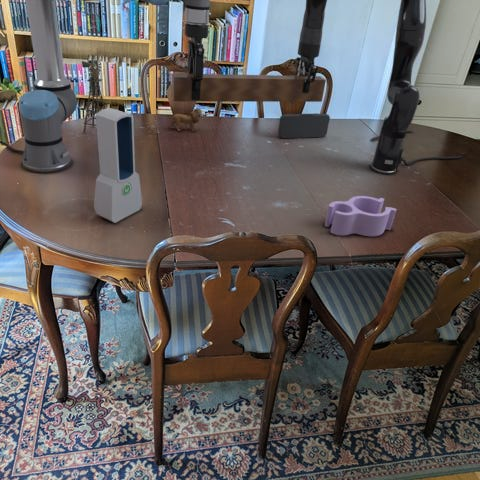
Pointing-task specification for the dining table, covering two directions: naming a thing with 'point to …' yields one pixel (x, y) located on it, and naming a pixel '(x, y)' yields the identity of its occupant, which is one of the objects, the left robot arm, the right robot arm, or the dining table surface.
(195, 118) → the lion figurine
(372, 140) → the sword
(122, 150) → the electronic device
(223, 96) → the beam
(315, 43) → the right robot arm
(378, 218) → the clip
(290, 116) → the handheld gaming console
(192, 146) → the dining table surface
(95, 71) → the miniature windmill
